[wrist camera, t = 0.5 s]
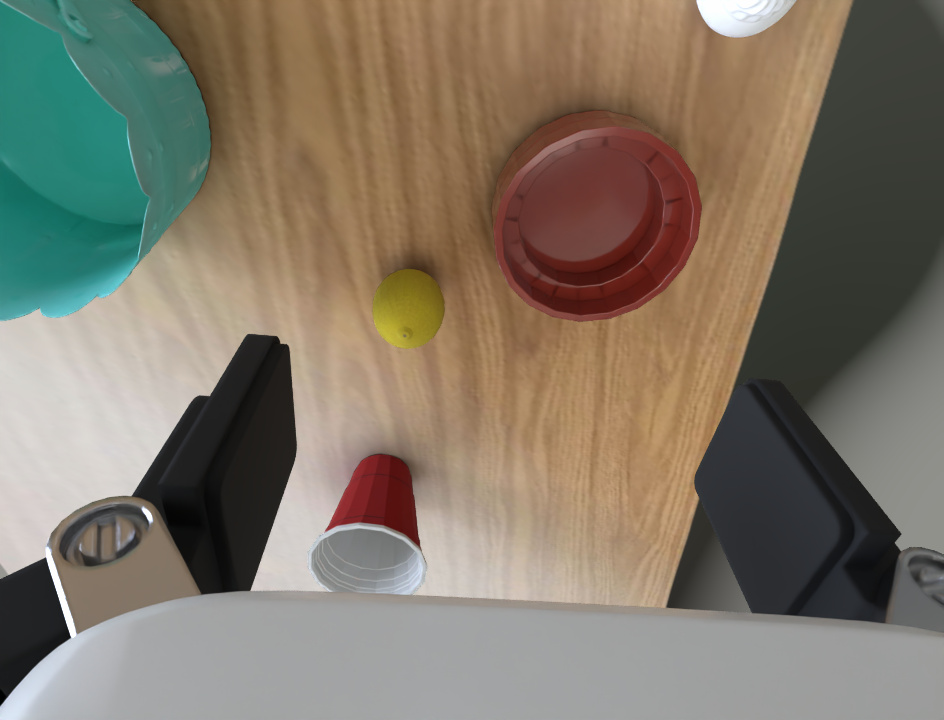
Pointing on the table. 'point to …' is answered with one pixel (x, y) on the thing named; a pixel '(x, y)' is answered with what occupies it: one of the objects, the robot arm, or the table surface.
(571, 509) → the table surface
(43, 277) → the basket
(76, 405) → the table surface
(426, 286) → the lemon
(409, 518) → the plastic cup
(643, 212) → the bowl
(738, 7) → the muffin
